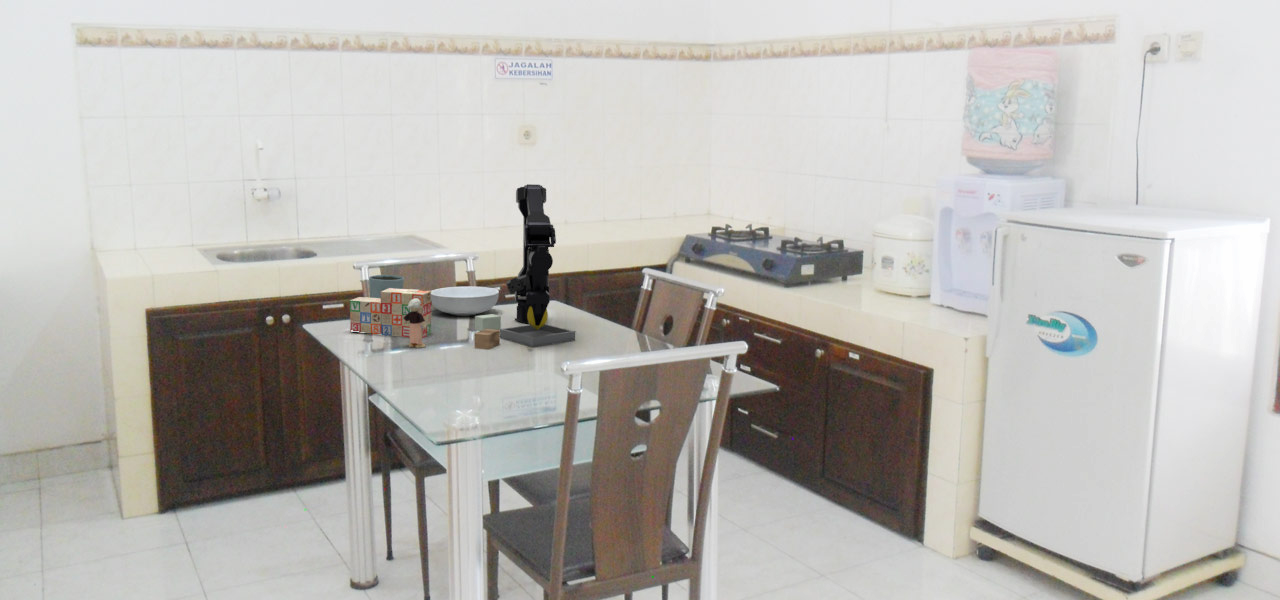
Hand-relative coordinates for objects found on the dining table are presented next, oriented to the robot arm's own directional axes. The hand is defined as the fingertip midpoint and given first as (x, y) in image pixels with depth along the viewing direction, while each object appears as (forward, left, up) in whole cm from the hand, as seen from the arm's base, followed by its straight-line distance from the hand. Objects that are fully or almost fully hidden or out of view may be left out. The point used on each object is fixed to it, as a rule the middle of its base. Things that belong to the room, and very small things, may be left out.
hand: (537, 323), depth 294 cm
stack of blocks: (+28, -30, -5) cm, 41 cm away
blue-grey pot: (+16, -52, -5) cm, 55 cm away
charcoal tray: (0, 0, -4) cm, 4 cm away
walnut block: (+16, -1, -5) cm, 17 cm away
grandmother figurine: (+31, -12, -5) cm, 34 cm away
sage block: (+3, -19, -5) cm, 20 cm away
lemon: (0, 0, -2) cm, 2 cm away
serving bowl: (-6, -44, -5) cm, 45 cm away
